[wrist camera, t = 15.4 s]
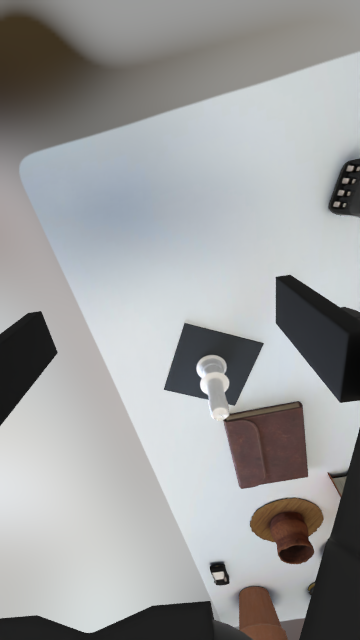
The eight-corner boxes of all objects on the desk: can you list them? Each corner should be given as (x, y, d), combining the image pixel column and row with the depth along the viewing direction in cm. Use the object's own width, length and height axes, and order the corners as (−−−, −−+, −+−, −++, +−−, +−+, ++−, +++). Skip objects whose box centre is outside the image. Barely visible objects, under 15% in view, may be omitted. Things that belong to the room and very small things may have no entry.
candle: (229, 357, 46) (245, 405, 35) (222, 381, 48) (234, 434, 37) (199, 352, 46) (206, 399, 35) (193, 377, 48) (197, 429, 37)
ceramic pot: (235, 516, 65) (242, 551, 58) (301, 487, 60) (315, 521, 54) (273, 549, 71) (282, 584, 64) (335, 524, 66) (351, 559, 60)
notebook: (300, 400, 50) (304, 408, 48) (305, 469, 58) (310, 478, 56) (222, 415, 52) (223, 423, 50) (238, 480, 60) (239, 489, 58)
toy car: (229, 578, 77) (231, 591, 74) (216, 580, 77) (217, 593, 75) (223, 560, 73) (224, 573, 70) (209, 562, 73) (209, 575, 71)
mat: (164, 389, 49) (163, 389, 49) (184, 323, 44) (184, 323, 44) (234, 404, 51) (234, 405, 51) (263, 343, 45) (263, 343, 45)
